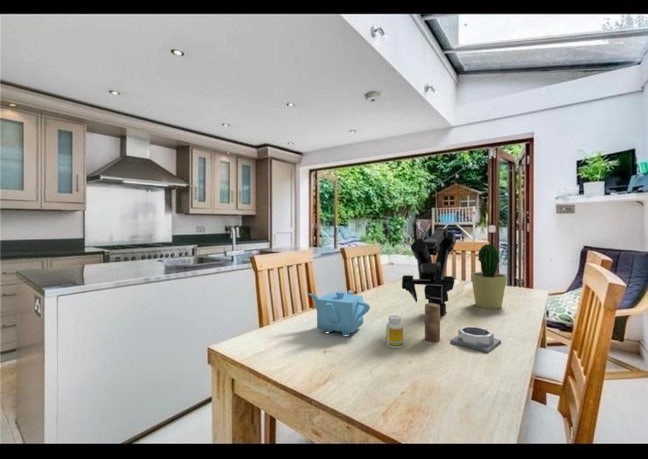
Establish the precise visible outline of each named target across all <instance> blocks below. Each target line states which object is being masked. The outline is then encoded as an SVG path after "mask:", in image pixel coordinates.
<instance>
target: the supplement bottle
mask: <svg viewBox="0 0 648 459" xmlns="http://www.w3.org/2000/svg"><path fill="white" fill-rule="evenodd" d="M385 327H386V330H385V331H386V332H385V333H386V334H385V335H386V340H385V343H386V346H387V347H388V348H391V349H401V348H402V347H404V346H403V345H404V325H403V324H402V317H401V316H400V315H388V322H387V323H386V326H385Z"/></svg>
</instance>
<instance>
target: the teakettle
mask: <svg viewBox="0 0 648 459" xmlns="http://www.w3.org/2000/svg"><path fill="white" fill-rule="evenodd" d="M353 292H354V291H353V290H352V289H350V290H348V291H347V293H346V292H345V291H341V290H340V291H336V292H329V293H327V294H325V295H323V296H321V297H319V296H318V295H317V294H315V293H308V295H309V296H310V297H311V298H312V299H313V301H314V306H315V310H316V328H317V329H319V330H324V332H325V331H326V332H332V333H333V331H334V332H341V335H342V334H343V335H349V334H350V335H351V334H354V333H355V332H356V331H357V330H358V329H359V328H360V327H361V326H362V325H363V324H364V316H365V315H366V314H368V312H369V310H370V308H371V306H370V304H369V303H367V302H364V296H363V295H357V294H353Z"/></svg>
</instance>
